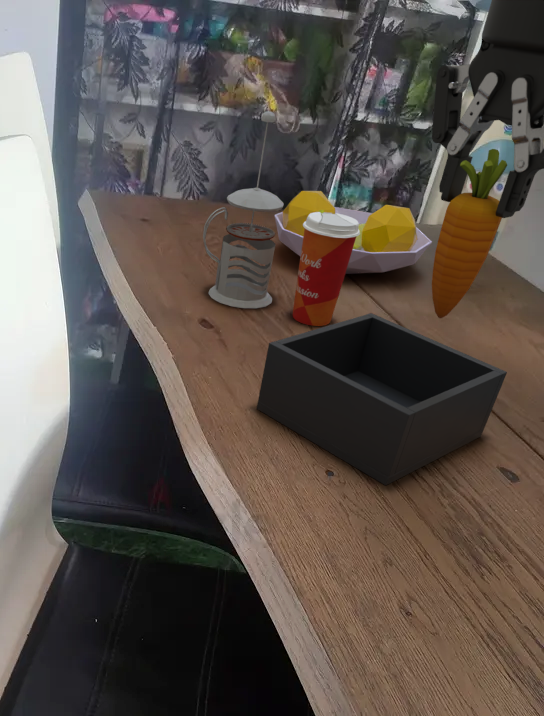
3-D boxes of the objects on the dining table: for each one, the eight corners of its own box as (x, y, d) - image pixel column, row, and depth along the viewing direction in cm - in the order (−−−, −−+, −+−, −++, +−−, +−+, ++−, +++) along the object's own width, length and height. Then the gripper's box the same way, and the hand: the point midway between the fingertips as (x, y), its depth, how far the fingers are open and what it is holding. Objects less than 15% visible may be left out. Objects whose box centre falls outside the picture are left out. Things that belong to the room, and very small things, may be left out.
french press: (276, 310, 108) (312, 121, 93) (198, 304, 107) (221, 112, 92) (268, 287, 116) (300, 108, 101) (195, 281, 115) (216, 100, 100)
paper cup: (280, 306, 110) (299, 208, 101) (330, 309, 110) (353, 212, 102) (291, 327, 103) (312, 225, 95) (344, 330, 104) (369, 229, 96)
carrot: (445, 331, 69) (503, 159, 60) (403, 312, 72) (453, 146, 63) (476, 322, 72) (536, 156, 63) (434, 304, 75) (486, 143, 66)
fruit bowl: (334, 231, 145) (348, 170, 138) (450, 276, 129) (472, 209, 122) (229, 248, 130) (239, 180, 123) (346, 301, 114) (364, 226, 107)
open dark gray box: (354, 373, 93) (371, 312, 88) (481, 436, 83) (507, 371, 78) (256, 408, 83) (268, 342, 78) (385, 485, 73) (409, 415, 68)
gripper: (669, -15, 54) (571, 225, 64) (492, -30, 62) (431, 185, 72) (627, -22, 50) (530, 236, 60) (443, -37, 58) (385, 192, 68)
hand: (476, 207), depth 66 cm, fingers closed on carrot, 5 cm apart
